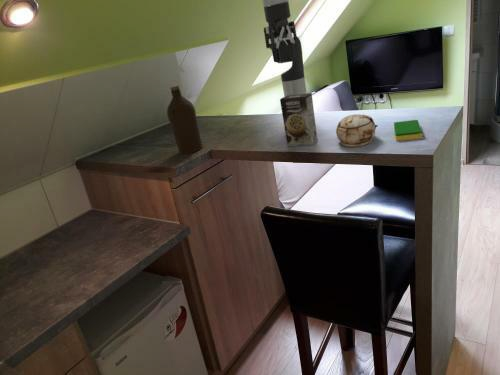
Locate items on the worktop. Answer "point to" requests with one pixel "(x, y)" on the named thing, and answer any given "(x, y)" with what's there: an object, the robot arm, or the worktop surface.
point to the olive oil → (184, 123)
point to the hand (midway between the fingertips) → (284, 59)
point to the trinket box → (356, 130)
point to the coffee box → (299, 119)
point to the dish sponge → (407, 130)
